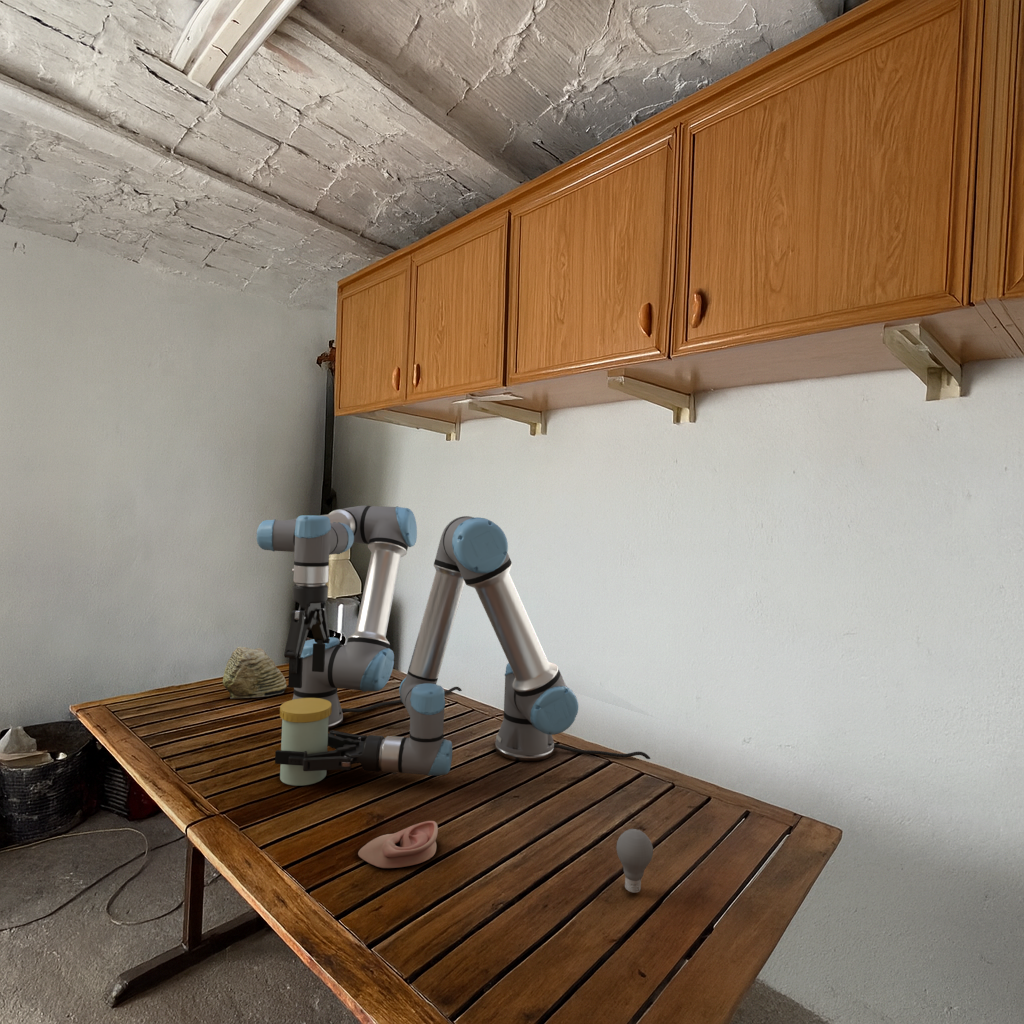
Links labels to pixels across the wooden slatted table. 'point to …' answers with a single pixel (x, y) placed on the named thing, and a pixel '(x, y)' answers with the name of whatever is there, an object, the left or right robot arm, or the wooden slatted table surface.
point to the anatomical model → (402, 846)
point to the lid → (305, 710)
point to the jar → (303, 749)
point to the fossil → (252, 674)
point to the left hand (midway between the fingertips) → (307, 679)
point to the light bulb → (634, 857)
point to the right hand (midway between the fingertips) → (285, 747)
